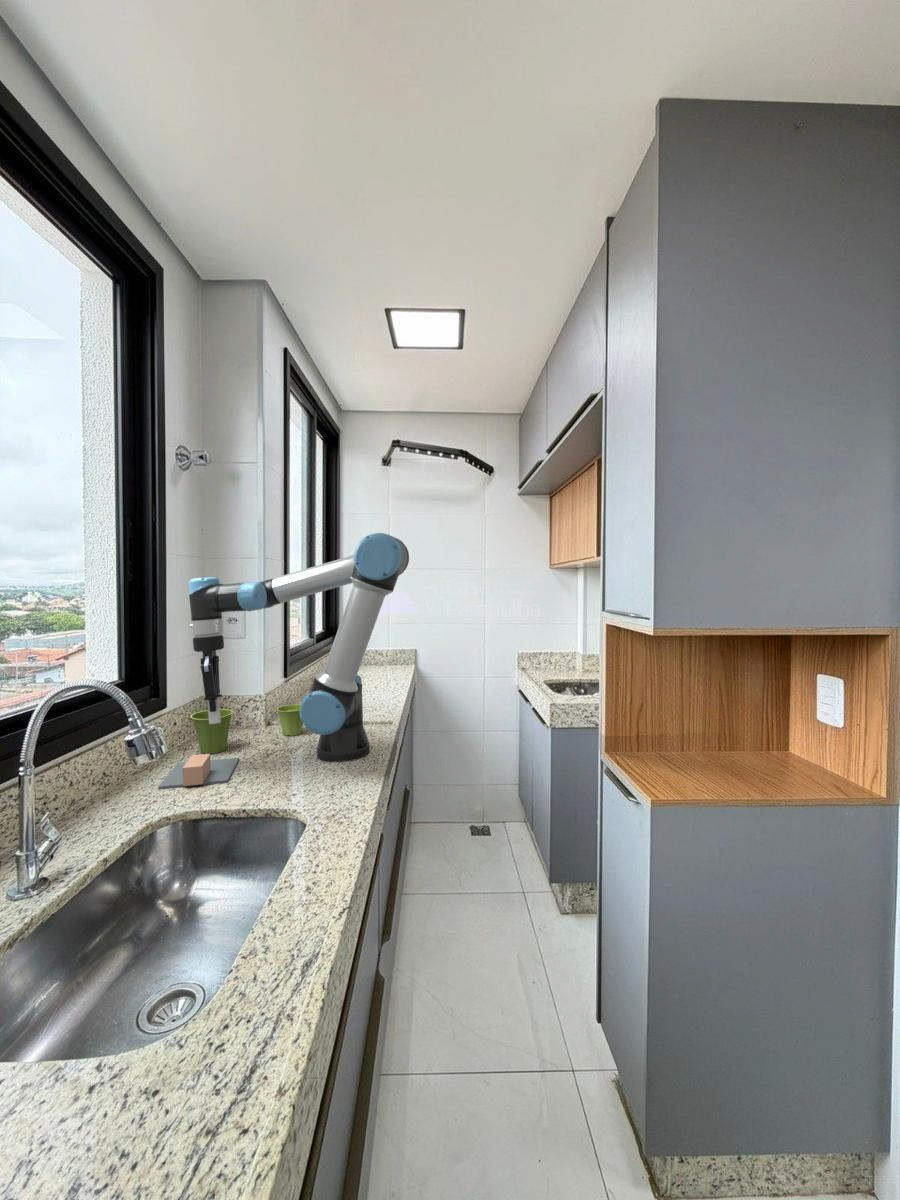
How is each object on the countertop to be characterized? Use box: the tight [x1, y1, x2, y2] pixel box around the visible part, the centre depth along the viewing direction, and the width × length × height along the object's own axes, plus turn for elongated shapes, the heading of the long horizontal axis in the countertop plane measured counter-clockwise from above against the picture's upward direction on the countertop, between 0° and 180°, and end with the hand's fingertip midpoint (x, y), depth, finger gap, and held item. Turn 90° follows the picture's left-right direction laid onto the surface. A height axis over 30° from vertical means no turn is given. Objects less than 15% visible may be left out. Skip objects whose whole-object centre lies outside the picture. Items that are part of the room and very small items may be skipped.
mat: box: [157, 757, 240, 790], centre depth 145 cm, size 16×18×1 cm
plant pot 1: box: [189, 708, 234, 754], centre depth 164 cm, size 12×12×11 cm
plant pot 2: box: [276, 704, 304, 737], centre depth 181 cm, size 9×9×9 cm
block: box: [182, 753, 211, 787], centre depth 140 cm, size 4×4×10 cm
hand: (215, 722), depth 147 cm, fingers closed
